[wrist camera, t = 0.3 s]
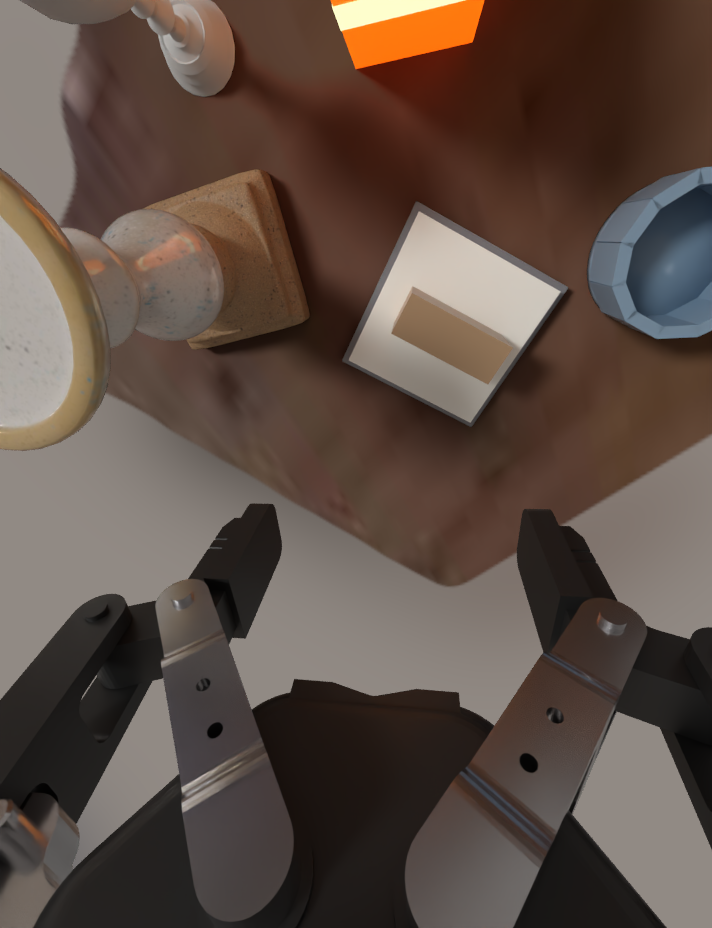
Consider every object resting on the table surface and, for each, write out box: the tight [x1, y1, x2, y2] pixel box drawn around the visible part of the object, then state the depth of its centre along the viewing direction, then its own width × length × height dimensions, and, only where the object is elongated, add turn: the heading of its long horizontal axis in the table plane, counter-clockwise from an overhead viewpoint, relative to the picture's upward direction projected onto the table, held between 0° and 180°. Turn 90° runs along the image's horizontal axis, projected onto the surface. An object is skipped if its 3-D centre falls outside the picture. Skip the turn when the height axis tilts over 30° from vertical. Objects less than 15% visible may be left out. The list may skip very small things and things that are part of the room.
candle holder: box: [0, 168, 310, 451], centre depth 24 cm, size 11×11×24 cm
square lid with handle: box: [349, 212, 561, 423], centre depth 31 cm, size 12×12×5 cm
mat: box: [342, 201, 568, 427], centre depth 34 cm, size 13×13×1 cm
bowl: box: [587, 167, 712, 339], centre depth 28 cm, size 10×10×5 cm
